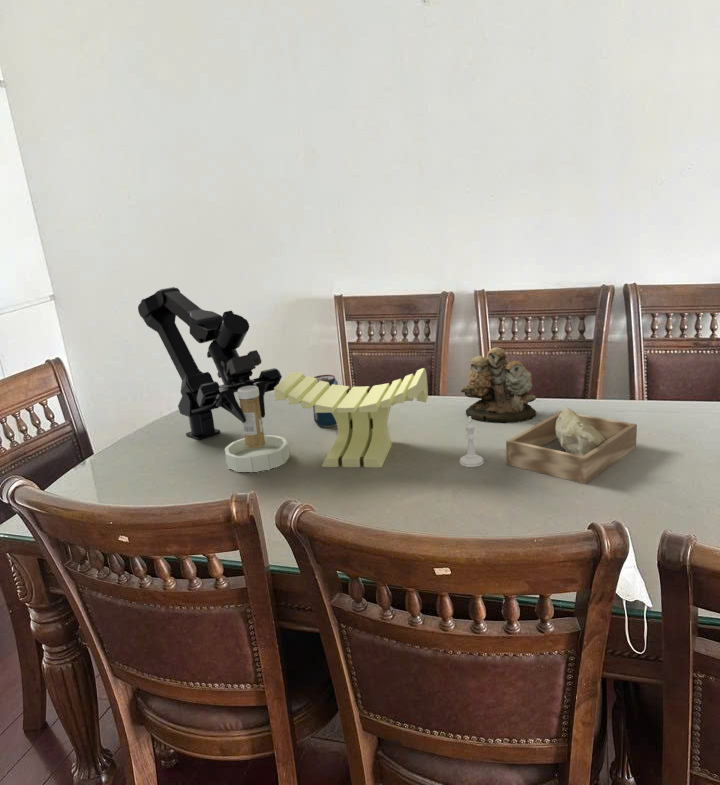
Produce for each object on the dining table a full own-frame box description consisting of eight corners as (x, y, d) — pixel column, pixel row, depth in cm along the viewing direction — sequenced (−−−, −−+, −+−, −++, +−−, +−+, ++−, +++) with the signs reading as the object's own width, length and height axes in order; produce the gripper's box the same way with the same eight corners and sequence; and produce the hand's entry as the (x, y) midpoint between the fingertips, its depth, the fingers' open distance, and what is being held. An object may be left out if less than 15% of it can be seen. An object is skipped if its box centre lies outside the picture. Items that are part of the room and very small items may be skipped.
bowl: (215, 464, 150) (212, 449, 149) (263, 445, 159) (261, 431, 158) (251, 478, 140) (249, 462, 139) (300, 457, 150) (299, 442, 149)
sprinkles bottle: (269, 444, 149) (262, 386, 145) (254, 450, 146) (247, 391, 142) (255, 440, 152) (248, 383, 148) (240, 447, 149) (232, 389, 145)
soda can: (347, 420, 171) (342, 375, 168) (331, 429, 166) (326, 382, 162) (324, 417, 175) (320, 373, 172) (309, 426, 170) (304, 380, 166)
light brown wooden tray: (506, 464, 136) (506, 441, 135) (561, 432, 151) (561, 410, 149) (585, 484, 124) (585, 459, 123) (636, 447, 139) (636, 424, 138)
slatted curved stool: (430, 439, 153) (426, 364, 148) (421, 467, 138) (416, 384, 133) (305, 440, 160) (296, 367, 155) (283, 466, 145) (273, 387, 140)
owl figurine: (459, 423, 163) (455, 354, 158) (464, 408, 173) (461, 343, 169) (536, 423, 158) (534, 352, 153) (536, 407, 169) (535, 341, 164)
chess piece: (485, 458, 140) (483, 413, 137) (481, 467, 136) (479, 421, 133) (462, 457, 142) (460, 412, 139) (457, 466, 137) (455, 420, 134)
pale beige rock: (564, 445, 148) (527, 418, 139) (588, 421, 147) (552, 392, 138) (608, 489, 136) (570, 463, 127) (634, 464, 135) (598, 435, 126)
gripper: (193, 348, 141) (220, 410, 135) (273, 333, 150) (301, 390, 144) (186, 377, 149) (211, 437, 144) (262, 361, 159) (288, 416, 153)
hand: (254, 419), depth 146 cm, fingers closed on sprinkles bottle, 4 cm apart
